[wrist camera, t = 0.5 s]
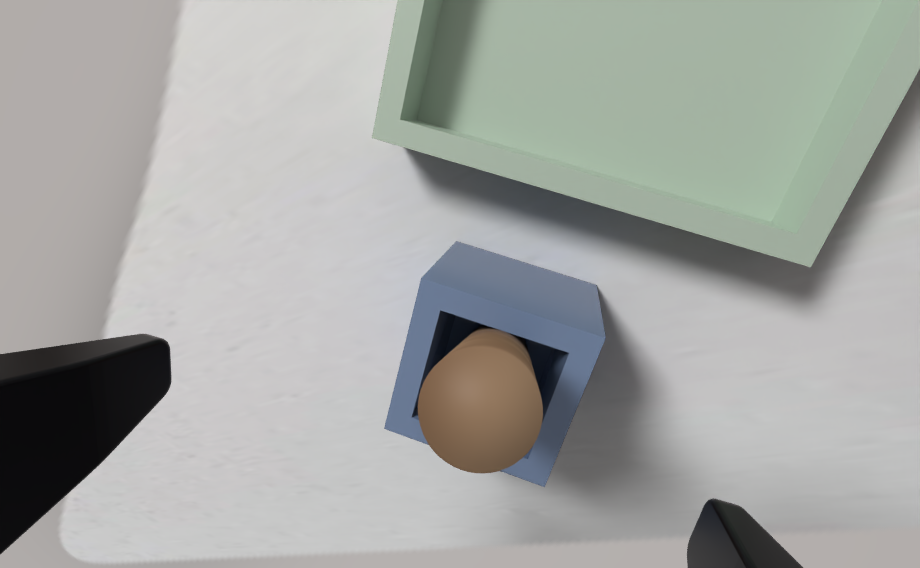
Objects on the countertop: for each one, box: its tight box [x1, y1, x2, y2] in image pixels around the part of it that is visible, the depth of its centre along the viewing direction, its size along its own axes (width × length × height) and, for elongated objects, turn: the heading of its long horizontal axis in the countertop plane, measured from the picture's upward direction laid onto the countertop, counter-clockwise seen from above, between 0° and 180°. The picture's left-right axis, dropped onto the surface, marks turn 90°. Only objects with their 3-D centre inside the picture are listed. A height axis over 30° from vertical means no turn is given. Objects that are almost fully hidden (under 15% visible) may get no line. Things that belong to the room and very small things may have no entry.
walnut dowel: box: [418, 325, 543, 473], centre depth 14 cm, size 2×6×10 cm, turn 165°
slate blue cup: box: [384, 241, 606, 487], centre depth 18 cm, size 6×6×5 cm
